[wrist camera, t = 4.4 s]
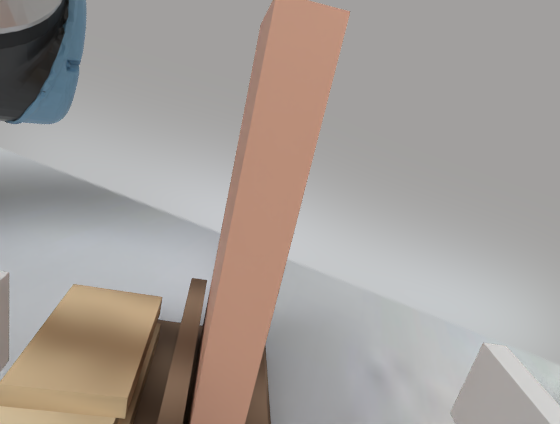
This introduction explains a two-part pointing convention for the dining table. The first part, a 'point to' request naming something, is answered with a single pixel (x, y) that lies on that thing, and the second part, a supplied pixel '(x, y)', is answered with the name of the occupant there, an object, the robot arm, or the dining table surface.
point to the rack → (187, 370)
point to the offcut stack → (85, 361)
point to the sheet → (264, 200)
